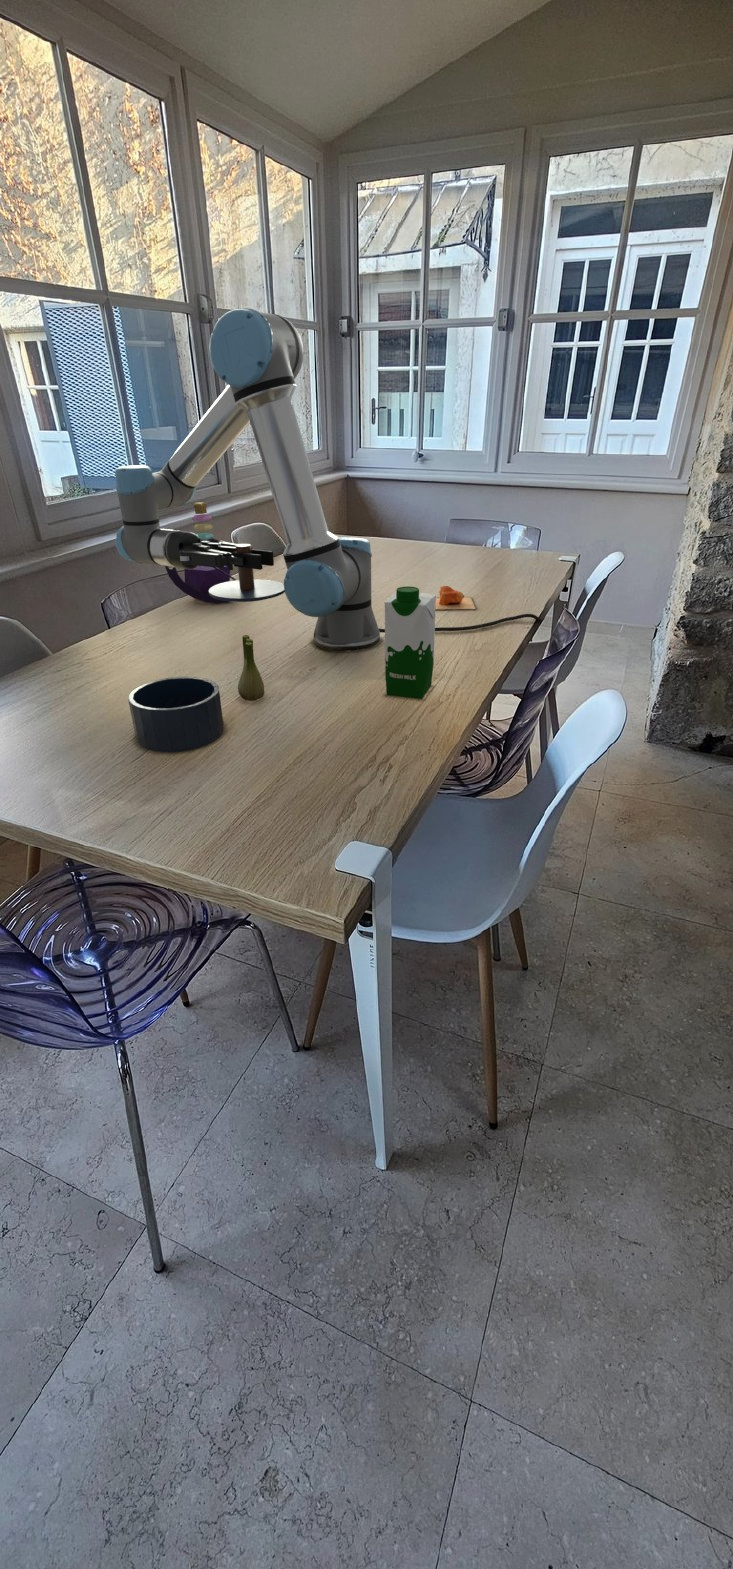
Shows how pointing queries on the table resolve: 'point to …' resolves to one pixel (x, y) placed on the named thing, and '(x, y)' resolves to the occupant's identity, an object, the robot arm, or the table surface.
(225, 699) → the table surface
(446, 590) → the rock
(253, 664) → the fennel bulb
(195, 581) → the decorative bottle
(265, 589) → the pot lid
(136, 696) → the pot
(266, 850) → the table surface
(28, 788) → the table surface
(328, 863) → the table surface
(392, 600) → the milk carton
